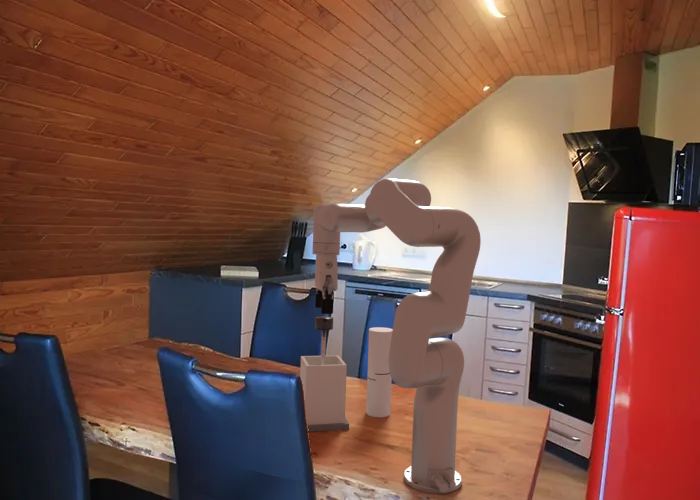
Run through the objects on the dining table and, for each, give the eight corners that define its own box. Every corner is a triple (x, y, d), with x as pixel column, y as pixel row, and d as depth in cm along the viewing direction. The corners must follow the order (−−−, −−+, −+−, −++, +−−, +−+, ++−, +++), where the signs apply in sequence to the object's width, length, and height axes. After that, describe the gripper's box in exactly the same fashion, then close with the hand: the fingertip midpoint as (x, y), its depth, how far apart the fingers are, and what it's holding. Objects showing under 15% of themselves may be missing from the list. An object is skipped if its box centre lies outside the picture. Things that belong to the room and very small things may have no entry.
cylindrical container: (388, 418, 163) (391, 332, 161) (364, 416, 164) (367, 330, 163) (391, 410, 170) (394, 328, 168) (368, 408, 171) (371, 326, 170)
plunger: (340, 398, 154) (342, 320, 153) (309, 399, 152) (311, 320, 151) (334, 388, 163) (336, 315, 162) (304, 390, 161) (306, 315, 160)
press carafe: (349, 429, 153) (351, 365, 152) (301, 431, 150) (303, 367, 149) (339, 413, 166) (341, 354, 165) (295, 415, 163) (296, 355, 162)
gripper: (346, 251, 148) (343, 316, 149) (333, 247, 165) (331, 305, 166) (317, 251, 146) (315, 316, 147) (307, 246, 163) (305, 305, 164)
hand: (323, 310), depth 157 cm, fingers open, 9 cm apart
